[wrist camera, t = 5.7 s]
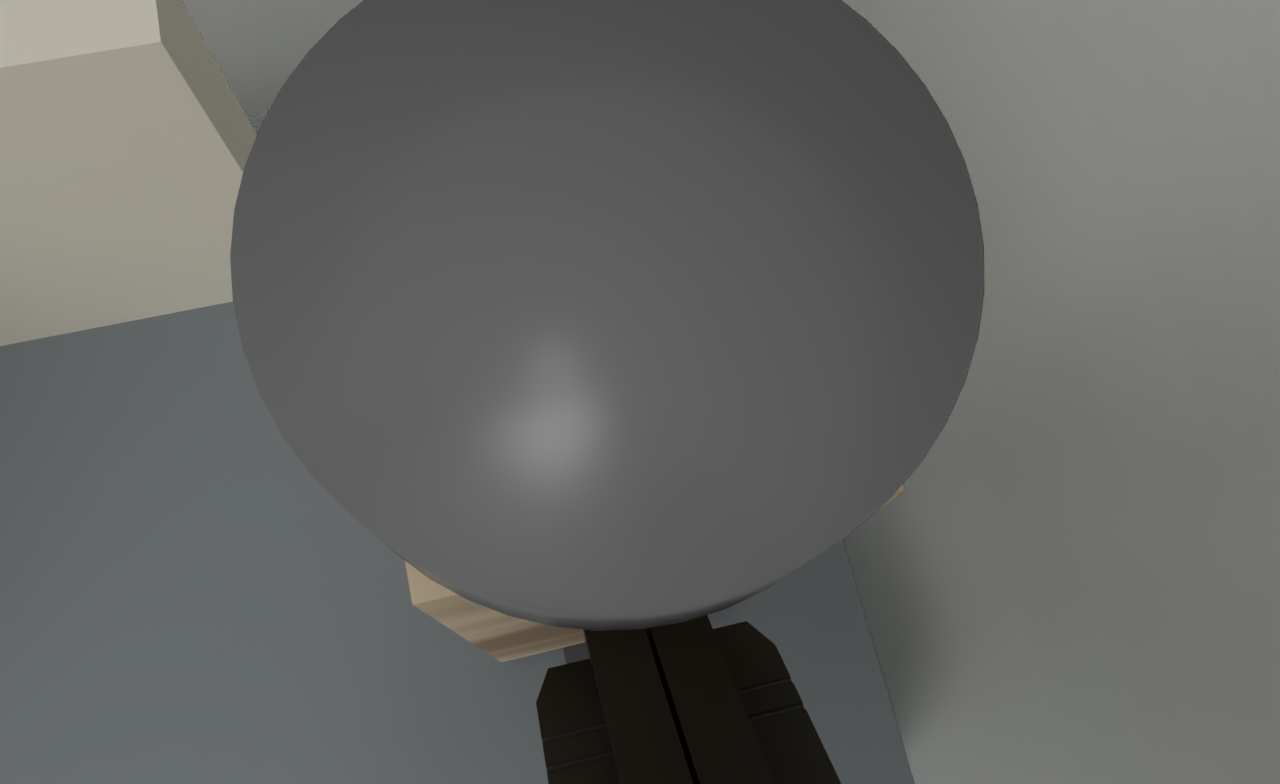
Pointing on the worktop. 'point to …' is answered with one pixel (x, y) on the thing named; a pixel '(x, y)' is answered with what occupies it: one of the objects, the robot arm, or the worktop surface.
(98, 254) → the slider board
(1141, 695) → the worktop surface
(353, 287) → the knob
